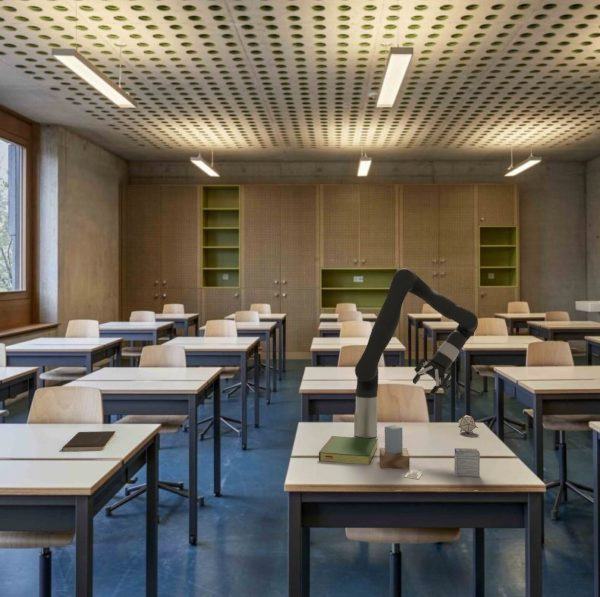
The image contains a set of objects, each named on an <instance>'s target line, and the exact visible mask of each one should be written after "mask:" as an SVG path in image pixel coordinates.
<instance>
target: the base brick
mask: <svg viewBox="0 0 600 597" xmlns="http://www.w3.org/2000/svg"><path fill="white" fill-rule="evenodd" d="M379 463H380V464H379V465H380V469H387V470H389V469H390V470H393V469H394V470H396V469H397V470H410V464H411V463H410V453H409V450H408V448H406V447H405V448H404V447H403V452H401V453H397V454H391V453H388V452H385V447H379Z"/></svg>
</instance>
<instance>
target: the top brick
mask: <svg viewBox="0 0 600 597" xmlns="http://www.w3.org/2000/svg"><path fill="white" fill-rule="evenodd" d="M384 448H385V452H388V453H391V454H397V453H401V452H403V448H404V447H403V427H401V426H398V425H396V424H392V425H388V426H384Z"/></svg>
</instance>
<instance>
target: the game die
mask: <svg viewBox="0 0 600 597" xmlns="http://www.w3.org/2000/svg"><path fill="white" fill-rule="evenodd" d="M474 417H475V415H473V416H471V415H468V414H467V413H465V415H461V418H459V419H456V421H457V422H458V428H460V431H459V432H462V431H463V432H466V433H467V435H469V433H470V432H471V433H473V430H474V429H476V428H477V429H478V428H479V427H478V426H477V424H476V420H475V419H474Z"/></svg>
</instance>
